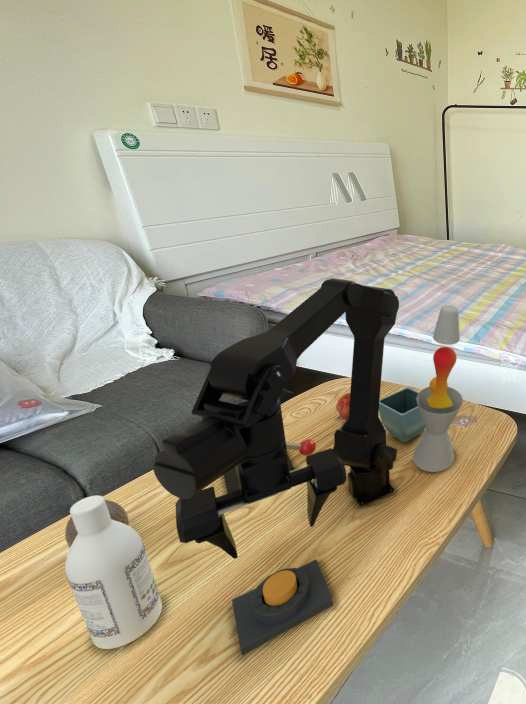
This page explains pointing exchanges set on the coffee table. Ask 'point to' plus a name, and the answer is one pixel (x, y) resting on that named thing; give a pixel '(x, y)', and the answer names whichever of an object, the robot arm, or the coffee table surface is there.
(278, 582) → the button
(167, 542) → the coffee table surface
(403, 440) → the flower pot
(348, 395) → the pomegranate
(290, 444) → the lever
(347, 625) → the coffee table surface
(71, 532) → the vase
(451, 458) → the lava lamp
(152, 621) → the bath foam
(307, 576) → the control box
